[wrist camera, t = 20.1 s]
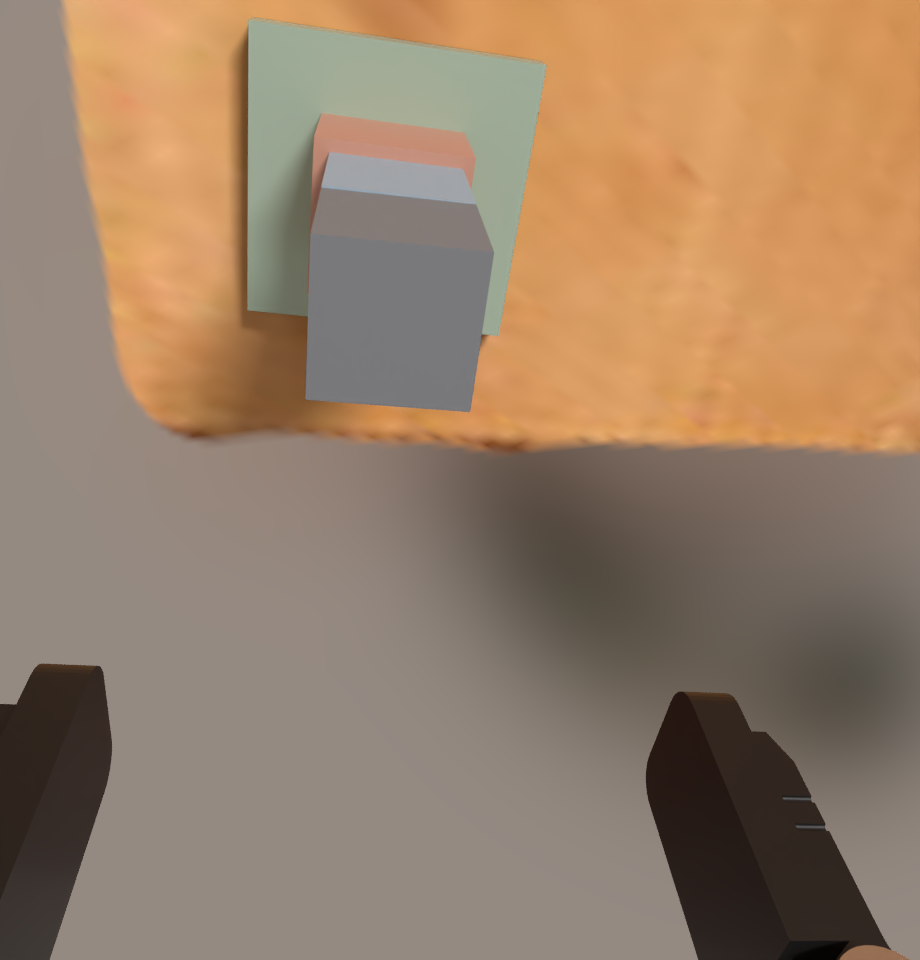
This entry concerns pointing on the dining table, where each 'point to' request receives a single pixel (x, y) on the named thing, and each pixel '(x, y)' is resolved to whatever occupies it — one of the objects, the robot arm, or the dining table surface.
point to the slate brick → (395, 300)
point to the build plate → (382, 97)
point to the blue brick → (396, 178)
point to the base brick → (385, 147)
